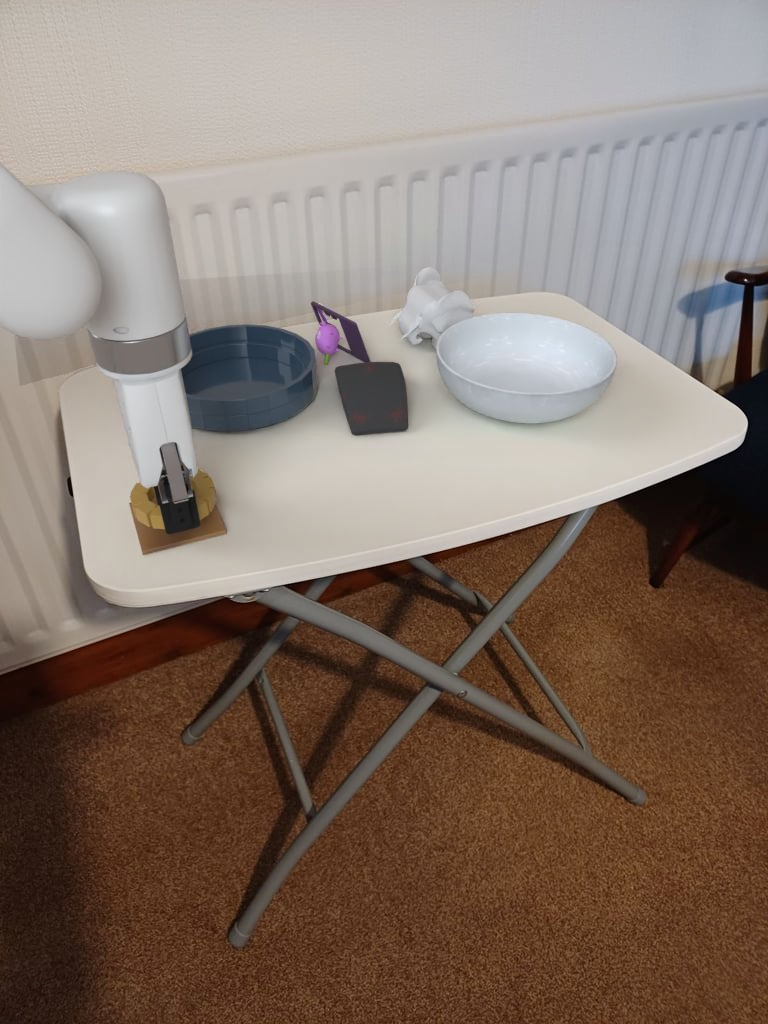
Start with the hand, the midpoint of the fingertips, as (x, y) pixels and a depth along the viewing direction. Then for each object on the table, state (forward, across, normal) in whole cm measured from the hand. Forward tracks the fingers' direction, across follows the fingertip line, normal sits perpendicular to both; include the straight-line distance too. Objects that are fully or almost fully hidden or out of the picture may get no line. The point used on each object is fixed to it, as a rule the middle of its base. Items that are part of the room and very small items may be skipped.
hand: (180, 518), depth 74 cm
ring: (0, -3, 0) cm, 3 cm away
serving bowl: (+3, -10, +43) cm, 44 cm away
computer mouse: (+3, -16, +26) cm, 31 cm away
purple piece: (+3, -29, +26) cm, 39 cm away
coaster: (+2, -3, 0) cm, 4 cm away
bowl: (+2, -25, +12) cm, 28 cm away
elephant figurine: (+3, -28, +40) cm, 49 cm away
